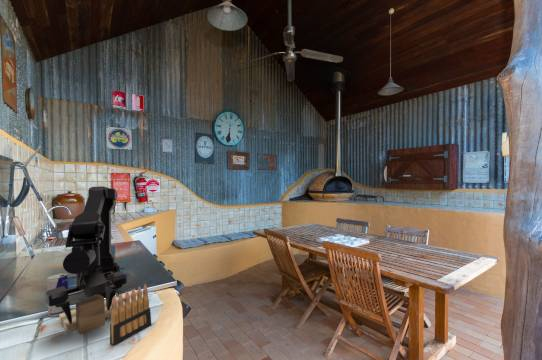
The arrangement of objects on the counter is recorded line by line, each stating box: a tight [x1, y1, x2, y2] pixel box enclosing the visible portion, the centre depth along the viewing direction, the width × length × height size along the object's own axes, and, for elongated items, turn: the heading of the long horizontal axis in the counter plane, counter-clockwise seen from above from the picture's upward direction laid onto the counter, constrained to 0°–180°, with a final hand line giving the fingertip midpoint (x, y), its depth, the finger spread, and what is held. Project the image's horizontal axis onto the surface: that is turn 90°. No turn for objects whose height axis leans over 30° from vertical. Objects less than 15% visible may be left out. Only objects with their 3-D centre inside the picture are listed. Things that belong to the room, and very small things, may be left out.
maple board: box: [58, 289, 143, 333], centre depth 84 cm, size 10×22×2 cm, turn 139°
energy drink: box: [46, 272, 70, 318], centre depth 84 cm, size 5×5×12 cm
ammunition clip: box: [109, 283, 152, 347], centre depth 71 cm, size 11×2×12 cm, turn 150°
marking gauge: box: [75, 294, 106, 336], centre depth 78 cm, size 13×6×8 cm, turn 49°
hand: (90, 316), depth 76 cm, fingers open, 9 cm apart
